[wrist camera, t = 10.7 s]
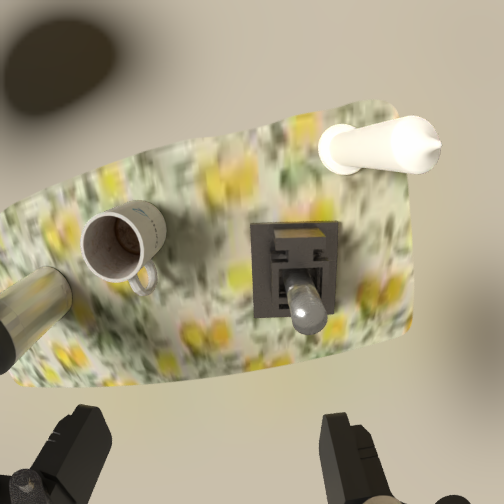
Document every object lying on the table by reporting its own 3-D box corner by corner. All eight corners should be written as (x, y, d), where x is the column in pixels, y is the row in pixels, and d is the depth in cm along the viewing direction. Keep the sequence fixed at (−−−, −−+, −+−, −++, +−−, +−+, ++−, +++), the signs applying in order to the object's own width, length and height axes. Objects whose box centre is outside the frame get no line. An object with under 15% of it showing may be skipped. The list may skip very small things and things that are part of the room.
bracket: (254, 314, 48) (253, 339, 41) (250, 223, 44) (249, 235, 38) (332, 311, 48) (343, 334, 41) (336, 220, 44) (350, 232, 37)
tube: (281, 260, 45) (292, 304, 31) (307, 259, 45) (328, 302, 31) (282, 286, 46) (292, 337, 32) (307, 285, 46) (326, 335, 32)
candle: (367, 175, 42) (477, 199, 18) (318, 174, 42) (393, 196, 18) (366, 125, 40) (475, 101, 16) (317, 123, 40) (390, 84, 16)
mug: (107, 206, 44) (73, 219, 34) (160, 194, 43) (135, 205, 34) (126, 283, 47) (99, 312, 38) (177, 277, 47) (159, 306, 37)
